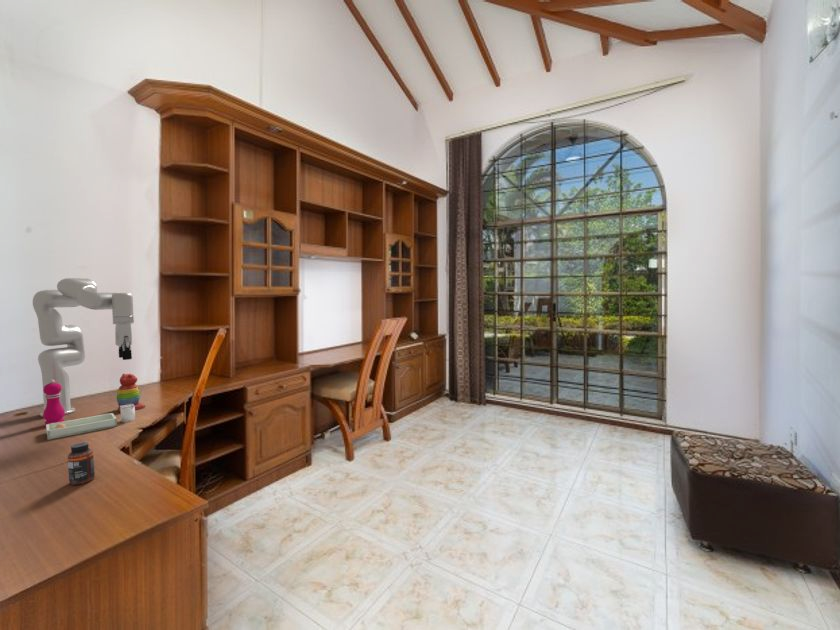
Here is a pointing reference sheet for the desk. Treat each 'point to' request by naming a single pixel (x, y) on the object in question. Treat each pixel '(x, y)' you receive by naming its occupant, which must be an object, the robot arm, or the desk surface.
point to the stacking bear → (128, 392)
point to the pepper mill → (53, 403)
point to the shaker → (127, 413)
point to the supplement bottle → (80, 464)
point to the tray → (81, 426)
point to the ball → (60, 426)
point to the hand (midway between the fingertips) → (125, 358)
